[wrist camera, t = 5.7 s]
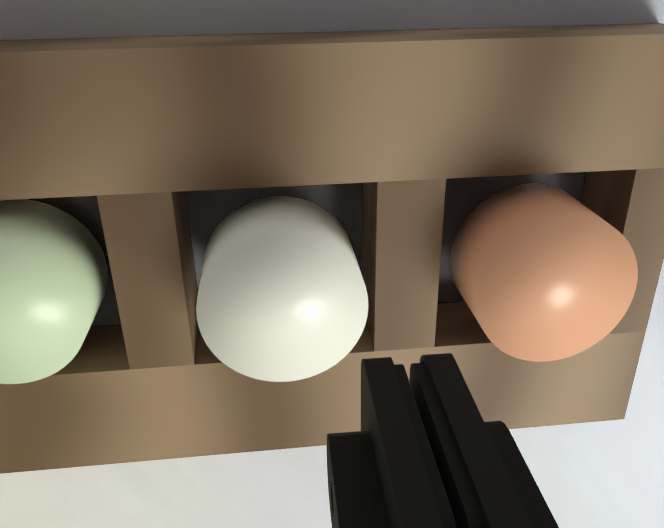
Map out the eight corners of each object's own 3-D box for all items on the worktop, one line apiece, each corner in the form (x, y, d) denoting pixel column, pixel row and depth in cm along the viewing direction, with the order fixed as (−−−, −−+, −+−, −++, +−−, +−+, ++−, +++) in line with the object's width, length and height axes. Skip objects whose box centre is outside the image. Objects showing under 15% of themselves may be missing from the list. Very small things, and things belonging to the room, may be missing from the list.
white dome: (354, 192, 17) (369, 227, 14) (354, 325, 18) (367, 375, 16) (196, 200, 16) (186, 237, 14) (211, 335, 18) (205, 387, 16)
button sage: (93, 195, 17) (68, 231, 14) (119, 327, 19) (100, 377, 16) (-70, 203, 16) (-122, 241, 14) (-28, 337, 18) (-67, 390, 16)
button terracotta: (602, 179, 17) (653, 212, 15) (578, 309, 19) (620, 355, 17) (455, 187, 17) (485, 221, 15) (445, 319, 19) (471, 367, 17)
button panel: (659, 23, 17) (719, 32, 15) (587, 373, 23) (623, 418, 20) (-179, 45, 15) (-253, 59, 13) (-43, 424, 21) (-80, 480, 18)
